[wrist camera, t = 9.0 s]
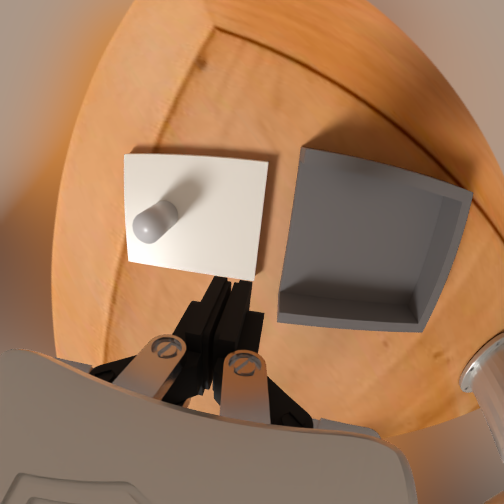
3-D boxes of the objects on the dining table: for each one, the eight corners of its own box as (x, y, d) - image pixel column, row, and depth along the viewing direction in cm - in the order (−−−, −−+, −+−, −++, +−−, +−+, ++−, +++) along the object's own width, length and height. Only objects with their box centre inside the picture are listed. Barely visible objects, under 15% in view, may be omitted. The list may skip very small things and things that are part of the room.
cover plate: (269, 160, 21) (265, 167, 16) (255, 272, 25) (249, 304, 20) (132, 152, 21) (100, 159, 17) (135, 254, 25) (110, 278, 21)
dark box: (448, 182, 19) (473, 192, 15) (408, 308, 24) (422, 332, 20) (300, 146, 19) (305, 148, 16) (278, 295, 25) (277, 322, 21)
